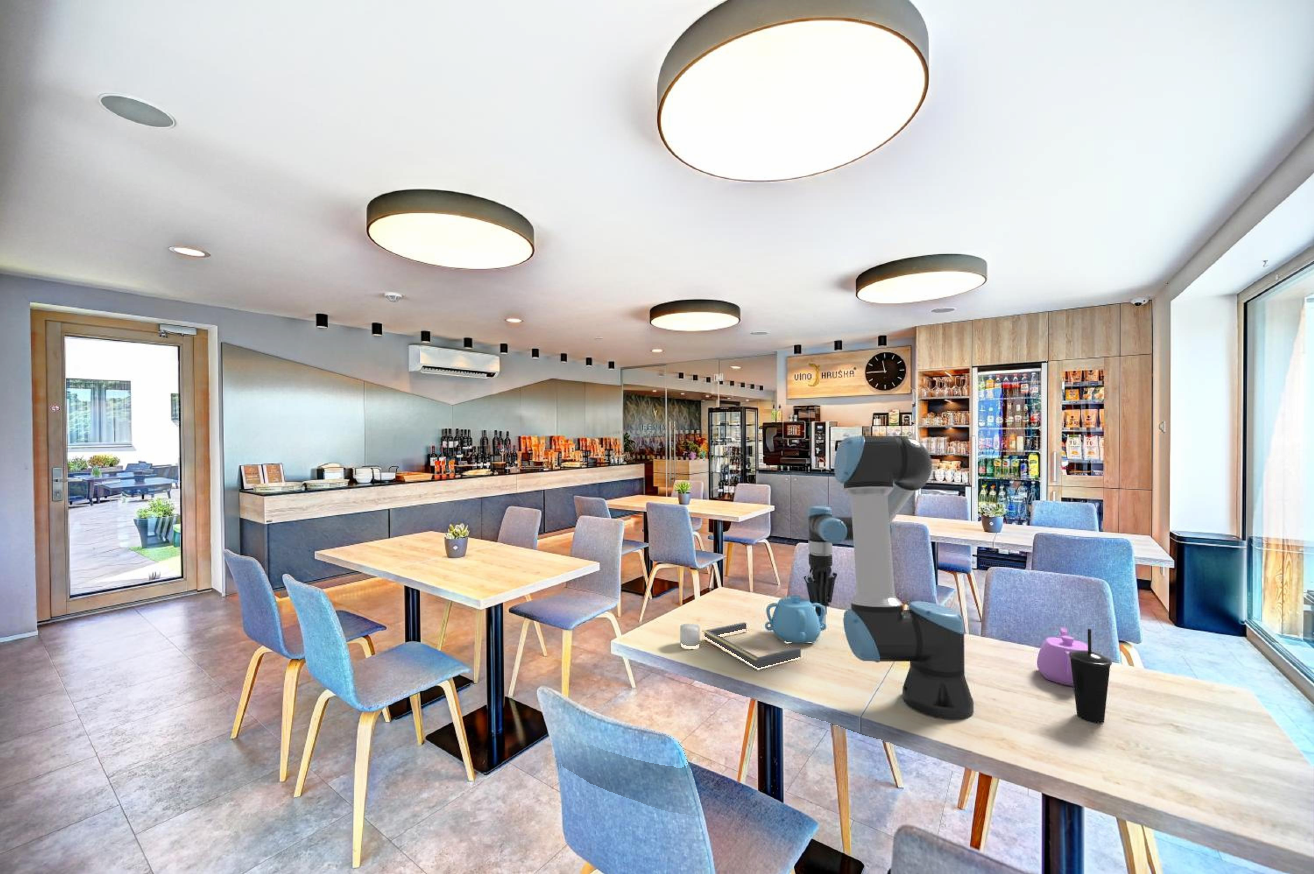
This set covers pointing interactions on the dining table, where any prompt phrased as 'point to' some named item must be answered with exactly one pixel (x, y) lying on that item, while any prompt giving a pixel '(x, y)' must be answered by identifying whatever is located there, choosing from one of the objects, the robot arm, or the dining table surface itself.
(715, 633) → the grey piece
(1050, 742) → the dining table surface
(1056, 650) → the teapot
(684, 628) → the white rounded cylinder
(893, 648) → the robot arm
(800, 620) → the decorative pot
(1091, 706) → the drinking cup
